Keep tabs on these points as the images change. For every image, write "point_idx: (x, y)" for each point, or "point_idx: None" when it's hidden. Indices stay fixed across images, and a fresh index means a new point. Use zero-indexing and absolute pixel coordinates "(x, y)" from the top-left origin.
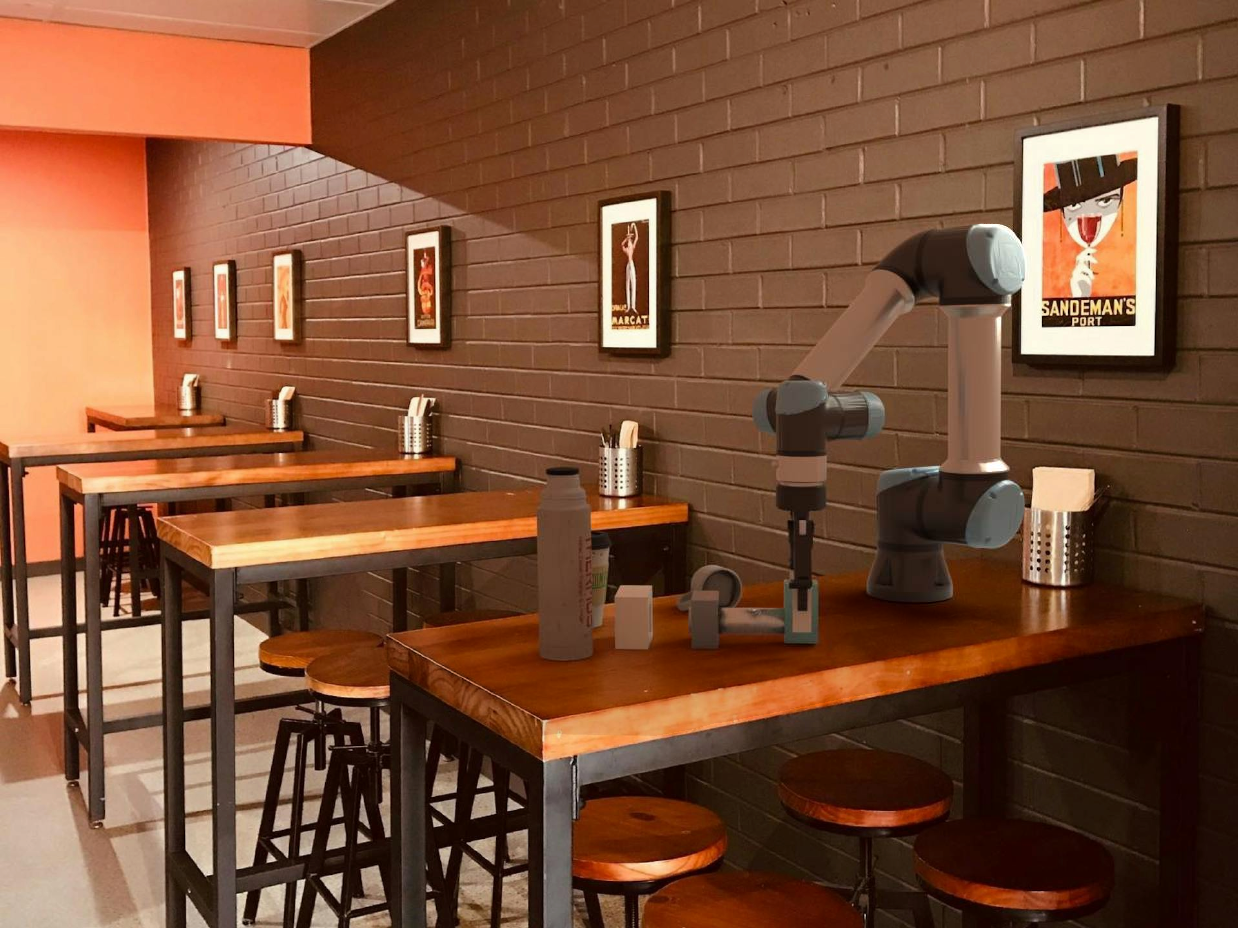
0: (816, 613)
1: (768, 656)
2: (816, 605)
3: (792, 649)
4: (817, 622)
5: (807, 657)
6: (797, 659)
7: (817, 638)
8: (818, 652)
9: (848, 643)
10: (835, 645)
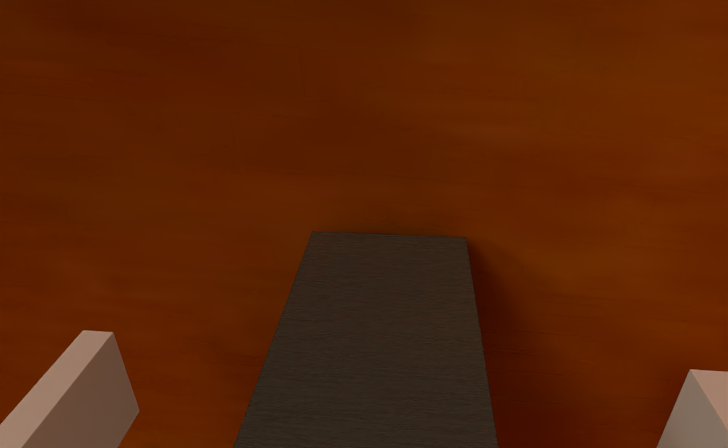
0: (484, 380)
1: (620, 427)
2: (491, 439)
3: (499, 336)
4: (478, 323)
5: (681, 291)
6: (710, 335)
7: (466, 255)
8: (580, 232)
9: (358, 37)
10: (415, 126)
